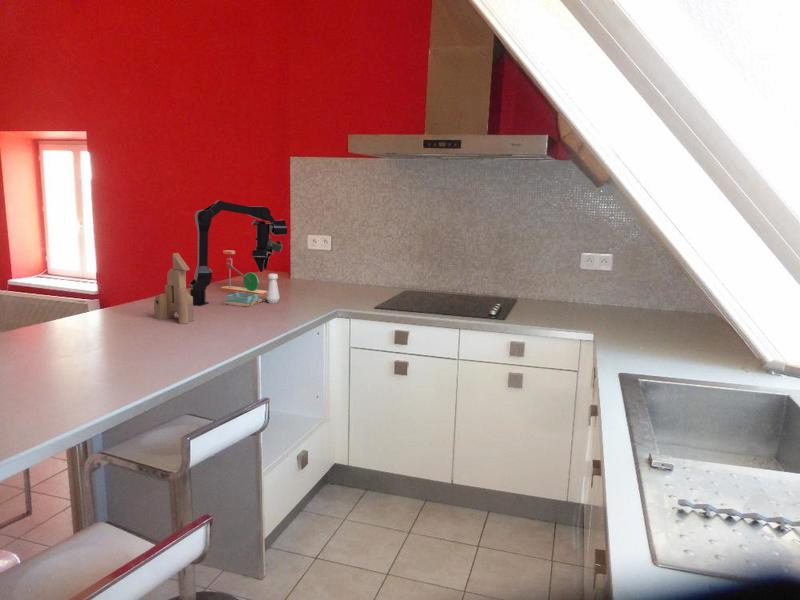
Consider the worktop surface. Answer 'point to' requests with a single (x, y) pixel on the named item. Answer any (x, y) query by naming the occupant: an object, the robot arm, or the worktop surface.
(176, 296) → the wooden toy
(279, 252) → the robot arm
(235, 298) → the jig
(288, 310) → the worktop surface
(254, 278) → the crank mechanism
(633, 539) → the worktop surface
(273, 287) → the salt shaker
